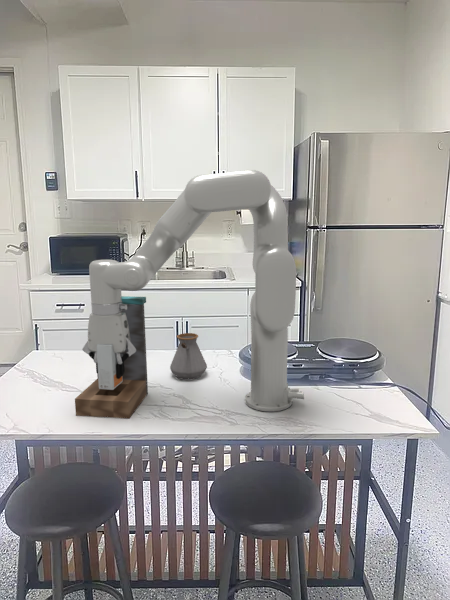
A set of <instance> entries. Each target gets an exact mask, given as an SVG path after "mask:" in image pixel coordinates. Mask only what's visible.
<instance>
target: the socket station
mask: <svg viewBox="0 0 450 600" xmlns="http://www.w3.org/2000/svg"><path fill="white" fill-rule="evenodd" d="M121 296H122V301H123V304H124V305H127V310H123V311H122V312H125V313H126V316H127V320H128V325H129V332H130V341H131V343H132V344H133V346H134V347H135V348H136V352H135V353H134V354H132V355H131V356H129V357H128V358H127V359H126V360H125V361H124V368H125V373H124V374H123V376H122V377H123V382H122V383H121V384H119V385H118V386H117V387H116V388H115V389H114V390H107V389H99V382H98V378H97V379H95V380H94V381H93V382H92V383H91V384H90V385H88V386H87V387H86V388H85V389H84V390H83V391H81V393H79V395H78V396H76V397H75V398H74V404H75V405H74V407H75V416H79V417H94V418H95V417H97V418H111V419H113V418H114V419H130V418H131V417H132V415H133V414H134V413H135V411H136V410H137V409H138V408H139V406H140V405H141V404H142V402H143V401H144V400H145V398H146V397H147V396H148V394H149V386H148V366H147V365H148V363H147V345H146V344H147V342H146V341H147V340H146V322H145V321H146V319H145V304H146V303H147V296H129V295H128V296H125V295H121ZM128 351H129V350H128V348H126V349H125V351H124V354H125V353H127V352H128ZM96 374H97V377H98V373H96Z"/></svg>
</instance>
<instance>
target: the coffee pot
mask: <svg viewBox="0 0 450 600" xmlns="http://www.w3.org/2000/svg"><path fill="white" fill-rule="evenodd" d="M176 338H177V340H178V341H179V343H178V345H177V349H176V350H175V354H174V356H173V358H172V361H171V364H170V366H169V369H170V371H171V373H172V374H173V375H174V376H176V378H178V379H181V380H187V381H189V380H196V379H199V378H200V377H202V375H204V373H205V372H206V370H207V369H208V364H207V363H206V360H205V358H204V356H203V354H202V351H201V350H200V348H199V345H198V343H197V340H198V338H199V334H197V333H193V332H183V333H180V334H178V335H176Z"/></svg>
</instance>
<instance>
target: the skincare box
mask: <svg viewBox="0 0 450 600" xmlns="http://www.w3.org/2000/svg"><path fill="white" fill-rule="evenodd" d="M97 363H98V376H97V379H98V382H99V389H107V390H114V389H115V388H116V387H117V386H118V385H119V384H121V383H122V382H123V377H121V378H120V379H117V377H116V364H117V358H116V354H115V353H114V351H113V345H103V344H98V345H97Z"/></svg>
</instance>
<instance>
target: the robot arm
mask: <svg viewBox="0 0 450 600" xmlns="http://www.w3.org/2000/svg"><path fill="white" fill-rule="evenodd" d="M247 209H248V211H249V212H250V214H251V217H252V221H253V223H252V225H253V251H252V252H253V253H252V254H253V256H252V269H253V271H254V273H255V276H254V277H255V278H254V279H255V280H254V281H255V284H254V286H255V289H254V290H255V291H254V292H253V294H252V296H251V298H250V307H249V311H250V335H251V336H250V340H251V341H250V342H251V343H250V392H248V393H246V394H245V397H244V401H245V404H246V405H247V406H248V407H249V408H251V409H253V410H257V411H260V412H280V411H283V410H287V409H288V408H290V407H291V406H292V404H293V399H297V400H304V399H305V392H304V391H300V388H291V387H289V384H288V383H289V382H288V379H287V378H288V347H289V346H288V344H289V342H288V341H289V335H288V334H289V332H288V329H289V326H290V324H292V321H294V320H293V319H294V317H295V313H296V297H297V296H296V294H297V293H296V292H297V266H296V261H295V258H294V256H293V254H292V253H291V252H290V251H289V225H288V224H289V222H288V212H287V208H286V204H285V201H284V200H283V198H282V196H281V195H280V193H279V191H277V189H276V188H275V187H274V186H273V185H271V181H270V180H269V178H268V176H266V174H265V173H264V172H262V171H259V170H256V169H246V170H239V171H238V170H237V171H230V172H220V173H211V174H210V173H209V174H199V175H196V176H194V177H191V179H189V181H188V182H187V184H186V185H185V189H183V191H182V192H181V193H180V195H178V197H177V198H176V199H175V201H174V202H173V203H172V204H171V205H170V206H169V208H168V209H167V210H165V212H164V213H163V214H162V216H161V217H160V218H159V219H158V220H157V222H156V223H155V226H154V227H153V228H154V229H153V230H152V232H151V234H150V235H149V237H148V238H147V239H146V241H144V242H143V245H141V247H140V248H139V249H138V250H137V251H136V252H135V253H134V255H133V256H132V257H131V258H130V259H128V260H126V261H122V262H119V261H118V260H114V259H95V260H93V261H90V264H89V266H88V267H89V268H88V271H89V287H90V290H89V291H90V303H91V304H90V306H91V313H89V318H88V323H87V324H88V325H87V341H86V343H85V344H84V345H83V347H82V351H83V352H84V353H85V354H87V355H88V356H89V357H90V358H91V359H92V360H93V362H94V364H95V370H96V374H97V373H98V363H97V345H98V344H103V345H113V351H114V353H115V354H116V358H117V364H116V377H117V379H120V378H121V377H122V376H123V374H124V373H125V368H124V361H125V360H126V359H127V358H128V357H129V356H131V355H132V354H134V353H135V352H136V348H135V347H134V346H133V344H132V343H131V341H130V332H129V325H128V320H127V316H126V313H125V312H122V311H123V310H127V305H124V304H123V301H122V296H123V295H122V290H123V291H129V292H130V291H131V292H136V291H140V290H142V289H144V288H145V287H146V286H147V284H148V283H149V282H150V281H151V280H152V279H153V277H155V275H156V274H157V273H158V271H160V270H161V268H162V267H163V266H164V265H165V263H166V262H167V261H168V260H169V259H170V258H171V257H172V255H173V254H174V253H176V252H177V251H178V250H179V249H181V248H182V247H183V246H184V244H185V243H186V242H187V241H188V240H189V239H190V238H191V237H192V236H193V234H194V233H195V232H197V230H198V228H199V227H200V226H201V225H202V224H204V222H205V221H206V220H207V218H208V217H209V216H210V215H211V214H212V213H217V212H218V213H219V212H228V211H229V212H230V211H237V210H238V211H239V210H247ZM126 348H128V350H129V351H128V352H127V353H125V354H124V351H125V349H126Z"/></svg>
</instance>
